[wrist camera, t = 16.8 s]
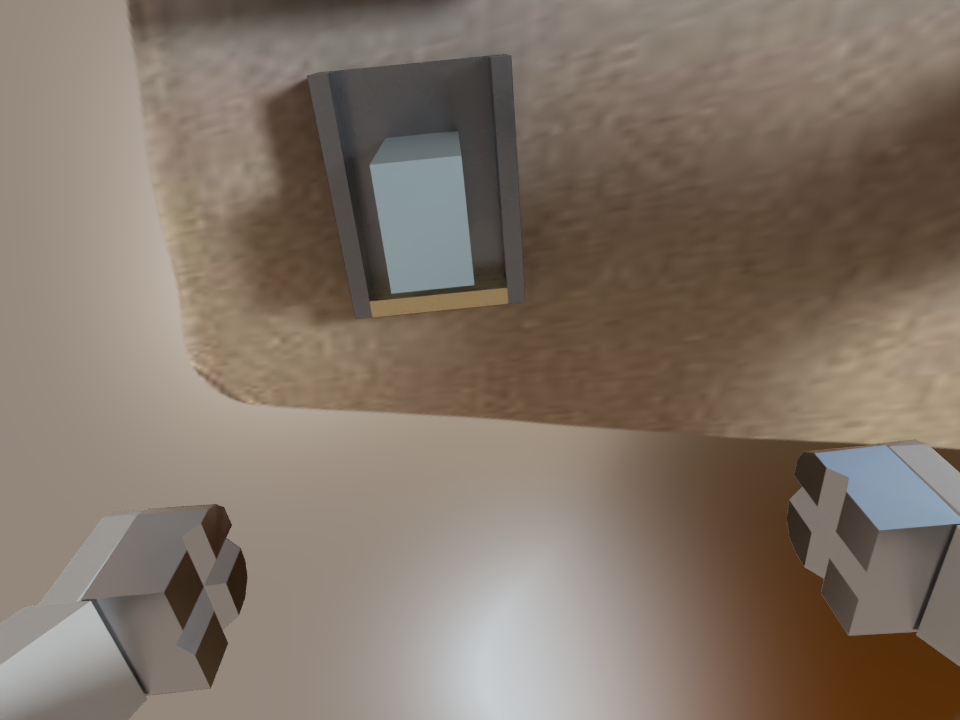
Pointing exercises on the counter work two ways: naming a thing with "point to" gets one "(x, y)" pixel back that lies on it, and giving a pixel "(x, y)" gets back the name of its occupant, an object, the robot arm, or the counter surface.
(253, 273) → the counter surface
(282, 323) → the counter surface
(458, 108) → the keeper
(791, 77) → the counter surface
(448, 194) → the block
